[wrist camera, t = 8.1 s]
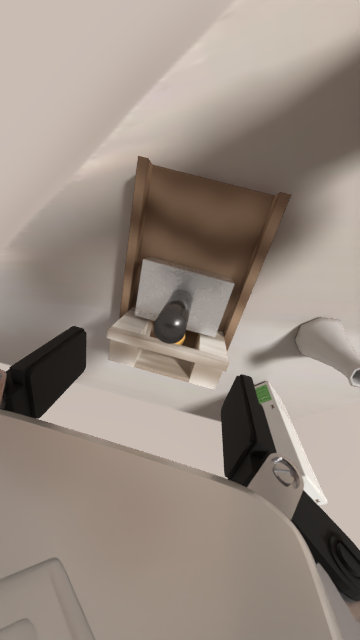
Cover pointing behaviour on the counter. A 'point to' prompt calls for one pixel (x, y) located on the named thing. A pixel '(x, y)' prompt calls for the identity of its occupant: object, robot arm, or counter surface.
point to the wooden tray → (192, 263)
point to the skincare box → (288, 439)
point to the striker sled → (181, 299)
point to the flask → (330, 347)
